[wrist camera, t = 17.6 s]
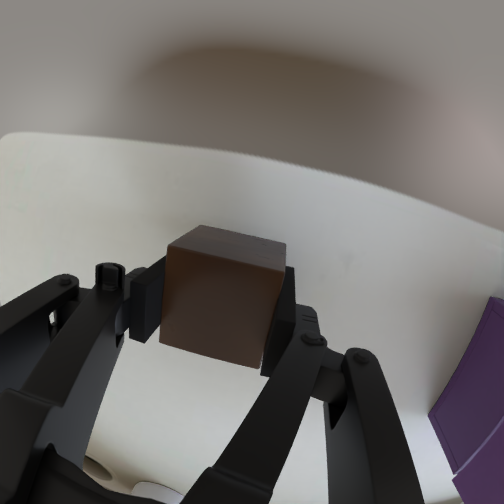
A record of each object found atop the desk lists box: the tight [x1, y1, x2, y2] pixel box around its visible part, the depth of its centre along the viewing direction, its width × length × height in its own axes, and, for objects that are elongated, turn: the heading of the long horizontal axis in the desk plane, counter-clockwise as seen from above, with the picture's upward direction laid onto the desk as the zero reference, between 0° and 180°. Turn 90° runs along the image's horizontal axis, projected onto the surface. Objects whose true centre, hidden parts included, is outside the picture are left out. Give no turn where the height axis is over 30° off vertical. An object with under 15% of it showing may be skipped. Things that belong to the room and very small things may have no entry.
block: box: [159, 225, 286, 369], centre depth 15 cm, size 5×5×5 cm
